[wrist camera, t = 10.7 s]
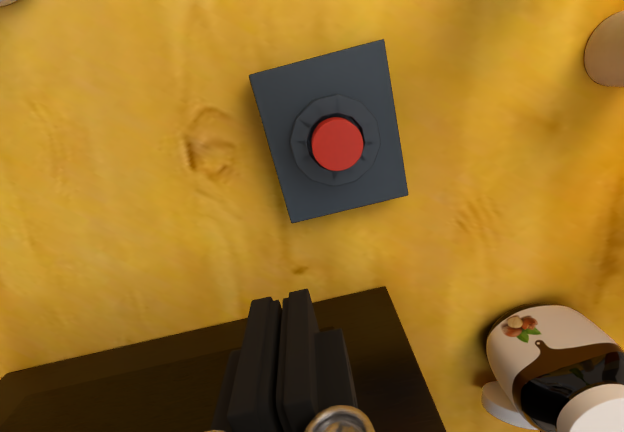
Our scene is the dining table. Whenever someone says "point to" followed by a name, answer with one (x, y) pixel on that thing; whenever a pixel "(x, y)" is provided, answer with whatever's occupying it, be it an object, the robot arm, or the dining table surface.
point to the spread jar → (554, 372)
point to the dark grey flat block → (320, 106)
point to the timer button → (336, 144)
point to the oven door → (214, 378)
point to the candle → (607, 52)
